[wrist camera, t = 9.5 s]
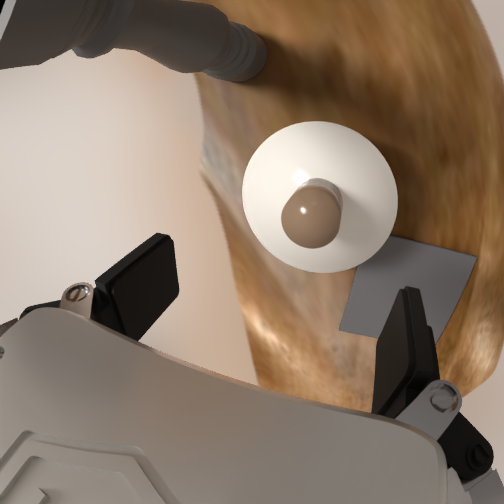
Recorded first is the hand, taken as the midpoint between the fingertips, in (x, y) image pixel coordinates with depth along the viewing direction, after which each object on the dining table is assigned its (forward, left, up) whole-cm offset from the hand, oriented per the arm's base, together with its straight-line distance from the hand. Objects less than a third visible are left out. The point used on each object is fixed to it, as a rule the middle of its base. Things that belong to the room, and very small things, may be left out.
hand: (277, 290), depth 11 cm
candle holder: (-12, -10, -20) cm, 26 cm away
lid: (+1, 0, -14) cm, 14 cm away
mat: (+12, +12, -20) cm, 26 cm away
